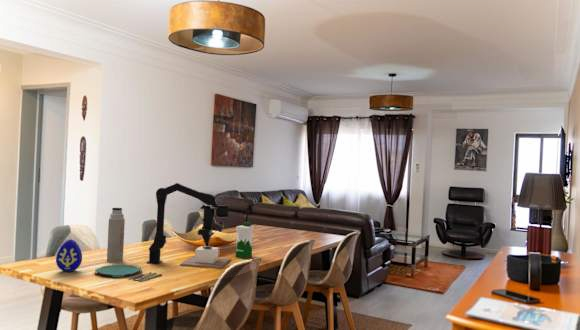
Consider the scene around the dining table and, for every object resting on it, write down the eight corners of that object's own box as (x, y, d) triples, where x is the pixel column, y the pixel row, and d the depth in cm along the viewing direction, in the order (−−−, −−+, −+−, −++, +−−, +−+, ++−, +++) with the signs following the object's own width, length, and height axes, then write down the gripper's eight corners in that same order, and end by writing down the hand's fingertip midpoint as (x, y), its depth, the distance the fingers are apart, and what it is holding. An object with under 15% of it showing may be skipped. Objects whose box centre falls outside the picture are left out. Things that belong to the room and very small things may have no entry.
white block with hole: (213, 263, 248) (213, 250, 248) (194, 262, 249) (195, 249, 249) (217, 259, 258) (218, 247, 258) (200, 258, 259) (200, 246, 259)
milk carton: (253, 256, 276) (255, 223, 276) (245, 259, 268) (247, 224, 268) (241, 254, 280) (243, 221, 280) (232, 257, 272) (234, 222, 272)
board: (221, 268, 241) (221, 266, 241) (180, 265, 244) (180, 263, 244) (230, 260, 263) (230, 258, 263) (192, 257, 266) (192, 255, 266)
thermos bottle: (125, 259, 251) (128, 207, 251) (117, 262, 243) (120, 209, 243) (112, 258, 253) (114, 206, 253) (103, 261, 245) (106, 208, 245)
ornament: (53, 273, 215) (55, 241, 215) (58, 269, 224) (59, 237, 224) (79, 273, 218) (81, 241, 218) (83, 268, 227) (84, 237, 227)
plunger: (209, 261, 251) (210, 247, 251) (201, 260, 251) (201, 246, 251) (211, 259, 256) (212, 246, 256) (203, 258, 256) (204, 245, 256)
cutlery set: (118, 266, 236) (119, 262, 235) (165, 276, 223) (165, 271, 223) (86, 274, 218) (86, 269, 218) (135, 285, 205) (135, 280, 205)
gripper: (218, 220, 243) (217, 250, 243) (227, 216, 262) (225, 244, 262) (198, 218, 244) (196, 248, 244) (207, 215, 263) (206, 242, 263)
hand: (207, 246), depth 253 cm, fingers closed
